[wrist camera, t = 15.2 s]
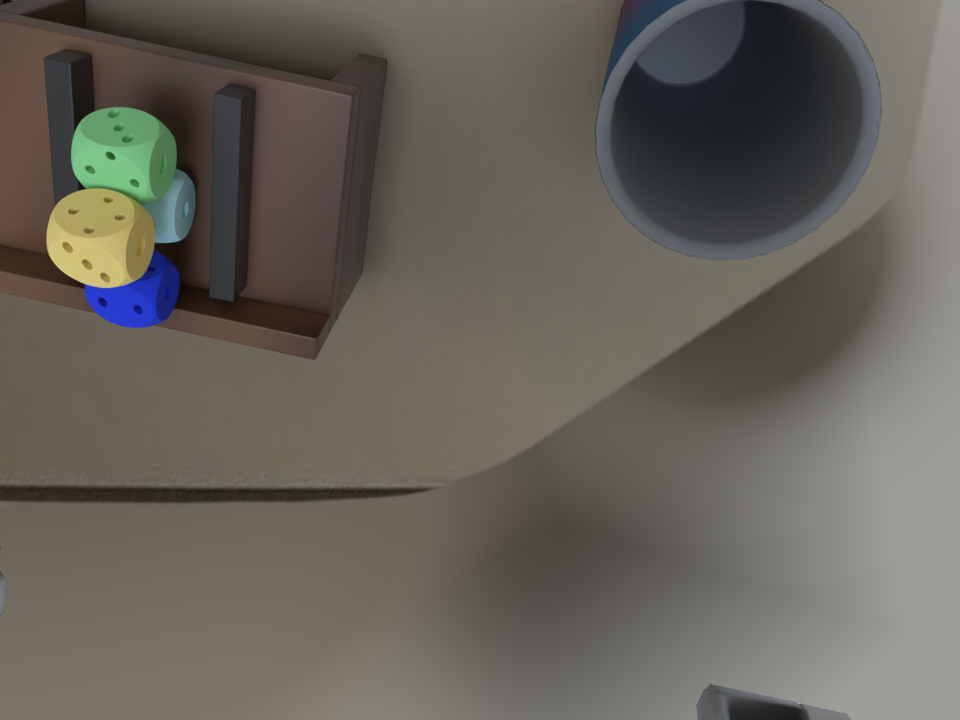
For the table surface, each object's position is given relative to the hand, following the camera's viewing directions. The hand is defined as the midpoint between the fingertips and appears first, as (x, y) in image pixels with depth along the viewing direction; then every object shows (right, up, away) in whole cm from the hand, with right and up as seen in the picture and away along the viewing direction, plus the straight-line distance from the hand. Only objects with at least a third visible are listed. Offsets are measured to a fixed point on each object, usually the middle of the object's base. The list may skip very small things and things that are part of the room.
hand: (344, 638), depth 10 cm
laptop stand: (-10, +13, +29) cm, 33 cm away
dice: (-11, +9, +24) cm, 28 cm away
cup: (+9, +16, +25) cm, 31 cm away
